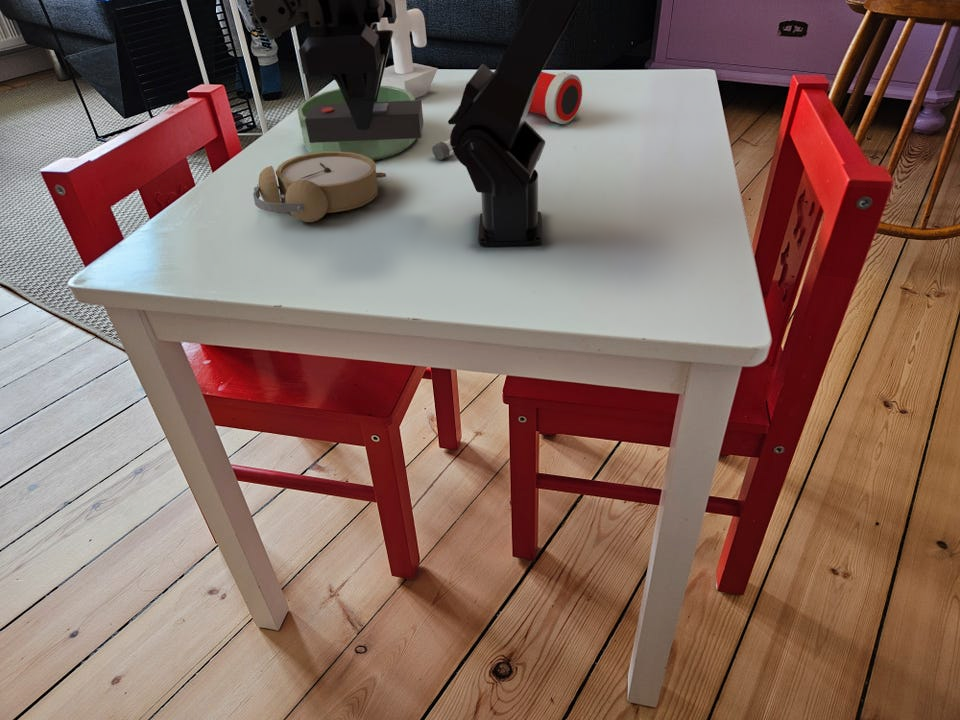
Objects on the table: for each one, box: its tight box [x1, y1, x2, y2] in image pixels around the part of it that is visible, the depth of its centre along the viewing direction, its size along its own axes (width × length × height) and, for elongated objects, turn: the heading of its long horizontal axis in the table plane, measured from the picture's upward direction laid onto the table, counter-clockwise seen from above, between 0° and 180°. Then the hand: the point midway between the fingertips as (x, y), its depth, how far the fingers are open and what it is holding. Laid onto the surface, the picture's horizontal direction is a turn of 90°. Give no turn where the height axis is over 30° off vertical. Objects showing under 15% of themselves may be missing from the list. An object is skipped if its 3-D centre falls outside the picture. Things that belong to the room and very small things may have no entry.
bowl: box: [296, 86, 418, 162], centre depth 93 cm, size 15×15×5 cm
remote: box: [305, 99, 424, 143], centre depth 69 cm, size 11×4×2 cm, turn 90°
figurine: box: [377, 0, 439, 100], centre depth 104 cm, size 7×9×15 cm
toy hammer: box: [431, 71, 583, 161], centre depth 93 cm, size 23×12×6 cm, turn 137°
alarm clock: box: [252, 151, 387, 223], centre depth 80 cm, size 11×5×15 cm
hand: (366, 120), depth 70 cm, fingers closed on remote, 4 cm apart
